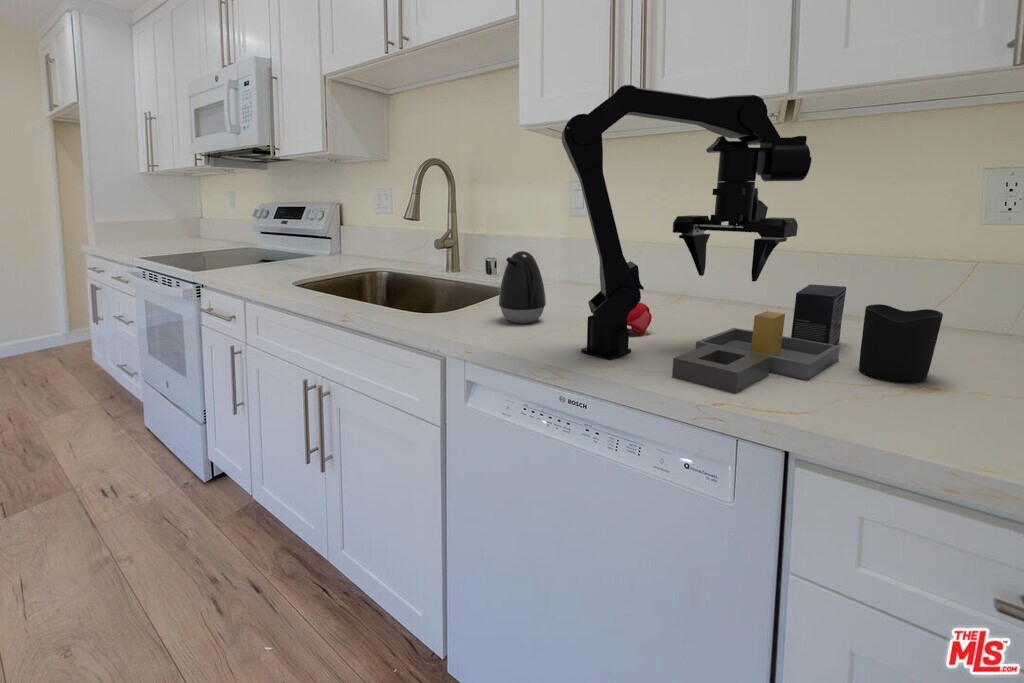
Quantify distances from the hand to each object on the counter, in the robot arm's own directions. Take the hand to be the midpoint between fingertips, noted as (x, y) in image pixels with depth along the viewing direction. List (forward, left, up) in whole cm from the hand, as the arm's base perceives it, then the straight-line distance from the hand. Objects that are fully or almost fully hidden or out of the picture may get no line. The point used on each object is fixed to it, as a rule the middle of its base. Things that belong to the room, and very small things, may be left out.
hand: (727, 278), depth 93 cm
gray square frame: (+6, -12, -13) cm, 19 cm away
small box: (+10, +16, -13) cm, 23 cm away
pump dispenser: (-42, -7, -13) cm, 45 cm away
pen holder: (+24, +7, -13) cm, 28 cm away
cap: (-19, +1, -13) cm, 23 cm away
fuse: (+7, +2, -12) cm, 14 cm away
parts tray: (+7, +2, -13) cm, 15 cm away
